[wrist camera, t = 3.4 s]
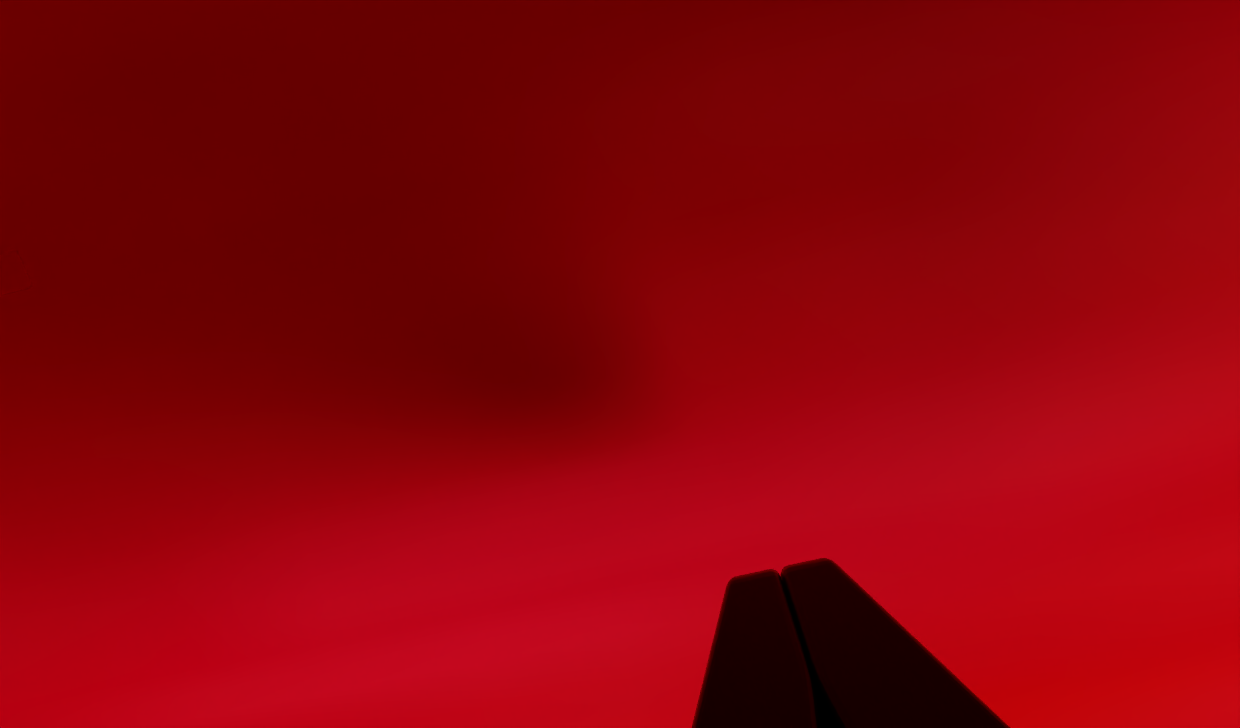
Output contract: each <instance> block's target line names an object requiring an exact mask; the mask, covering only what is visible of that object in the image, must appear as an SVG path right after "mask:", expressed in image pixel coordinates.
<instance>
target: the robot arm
mask: <svg viewBox="0 0 1240 728" xmlns="http://www.w3.org/2000/svg"><path fill="white" fill-rule="evenodd" d="M692 728H1010V727H1009V726H1008V725H1007V724H1006V723H1005V722H1004V721H1003V720H1001V719H1000V718H999V717H998V716H997V715H996V714H995V713H994V712H993V711H992V710H991V709H990V708H989V707H988V706H987V705H986V704H985V703H983V702H982V701H981V700H980V699H979V698H978V697H977V696H976V695H975V694H974V693H973V692H972V691H971V690H970V689H969V688H968V687H966V686H965V685H964V684H963V683H962V682H961V681H960V680H959V679H958V678H957V677H956V676H955V675H954V674H953V673H952V672H951V671H949V670H948V669H947V668H946V667H945V666H944V665H943V664H942V663H941V662H940V661H939V660H938V659H937V658H936V657H935V656H934V655H932V654H931V653H930V652H929V651H928V650H927V649H926V648H925V647H924V646H923V645H922V644H921V643H920V642H919V641H918V640H917V639H915V638H914V637H913V636H912V635H911V634H910V633H909V632H908V631H907V630H906V629H905V628H904V627H903V626H902V625H901V624H900V623H899V622H897V621H896V620H895V619H894V618H893V617H892V616H891V615H890V614H889V613H888V612H887V611H886V610H885V609H884V608H883V607H882V606H880V605H879V604H878V603H877V602H876V601H875V600H874V599H873V598H872V597H871V596H870V595H869V594H868V593H867V592H866V591H865V590H863V589H862V588H861V587H860V586H859V585H858V584H857V583H856V582H855V581H854V580H853V579H852V578H851V577H850V576H849V575H848V574H846V573H845V572H844V571H843V570H842V569H841V568H840V567H839V566H838V565H837V564H836V563H834V562H833V561H832V560H830V559H827V558H820V559H816V560H811V561H806V562H802V563H797V564H792V565H788V566H785V567H784V568H783V569H782V572H781V577H780V575H779V573H778V572H777V571H775V570H773V569H769V570H764V571H759V572H755V573H750V574H745V575H741V576H736V577H733V578H732V579H731V580H730V581H729V582H728V584H727V587H726V590H725V594H724V598H723V602H722V606H721V611H720V615H719V619H718V623H717V627H716V631H715V635H714V639H713V643H712V647H711V651H710V655H709V659H708V663H707V668H706V672H705V676H704V680H703V684H702V688H701V692H700V696H699V700H698V704H697V708H696V712H695V716H694V720H693V725H692Z"/></svg>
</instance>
